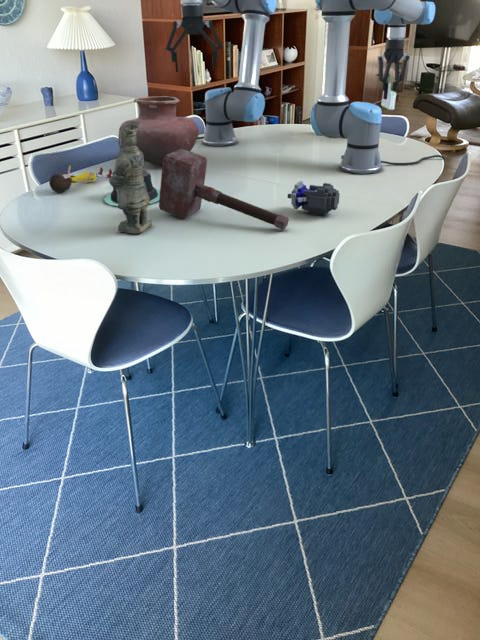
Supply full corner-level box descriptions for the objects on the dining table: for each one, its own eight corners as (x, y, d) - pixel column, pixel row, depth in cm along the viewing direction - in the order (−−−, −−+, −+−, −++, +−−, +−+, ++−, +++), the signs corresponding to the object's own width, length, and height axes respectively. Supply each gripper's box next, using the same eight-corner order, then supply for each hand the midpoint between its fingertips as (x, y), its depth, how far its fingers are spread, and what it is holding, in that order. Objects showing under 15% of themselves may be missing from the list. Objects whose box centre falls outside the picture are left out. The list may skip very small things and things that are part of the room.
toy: (295, 178, 172) (342, 184, 166) (295, 205, 177) (340, 211, 171) (285, 186, 166) (333, 192, 160) (284, 213, 170) (331, 220, 164)
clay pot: (207, 155, 234) (203, 91, 222) (188, 175, 209) (184, 105, 196) (138, 153, 239) (131, 91, 226) (112, 172, 214) (103, 104, 201)
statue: (131, 220, 168) (117, 116, 152) (158, 224, 164) (147, 118, 149) (109, 233, 159) (93, 124, 144) (138, 237, 156) (124, 126, 140)
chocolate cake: (91, 202, 180) (113, 186, 197) (142, 231, 182) (160, 212, 199) (107, 162, 172) (129, 148, 190) (160, 192, 174) (177, 176, 192)
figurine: (118, 166, 204) (64, 174, 185) (119, 186, 207) (65, 196, 188) (93, 161, 211) (38, 168, 191) (95, 181, 214) (40, 190, 195)
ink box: (387, 106, 249) (392, 72, 242) (394, 110, 241) (399, 75, 234) (380, 105, 249) (384, 72, 242) (386, 110, 240) (391, 75, 233)
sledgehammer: (299, 190, 156) (179, 147, 167) (285, 200, 148) (161, 154, 160) (286, 244, 166) (174, 200, 177) (272, 256, 158) (156, 209, 170)
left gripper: (227, 3, 197) (228, 68, 207) (156, 5, 195) (162, 71, 206) (228, 3, 190) (230, 71, 201) (155, 5, 189) (160, 73, 200)
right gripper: (411, 37, 234) (404, 96, 246) (373, 38, 234) (368, 97, 246) (417, 38, 228) (409, 99, 240) (379, 39, 227) (373, 100, 239)
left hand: (195, 71), depth 204 cm, fingers open, 13 cm apart
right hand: (389, 98), depth 243 cm, fingers closed on ink box, 3 cm apart
